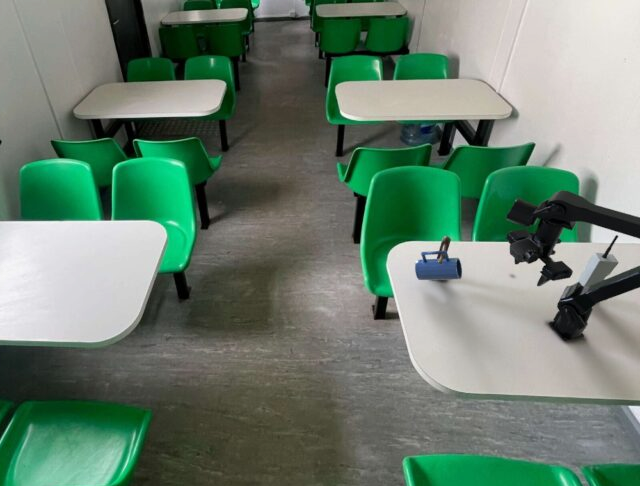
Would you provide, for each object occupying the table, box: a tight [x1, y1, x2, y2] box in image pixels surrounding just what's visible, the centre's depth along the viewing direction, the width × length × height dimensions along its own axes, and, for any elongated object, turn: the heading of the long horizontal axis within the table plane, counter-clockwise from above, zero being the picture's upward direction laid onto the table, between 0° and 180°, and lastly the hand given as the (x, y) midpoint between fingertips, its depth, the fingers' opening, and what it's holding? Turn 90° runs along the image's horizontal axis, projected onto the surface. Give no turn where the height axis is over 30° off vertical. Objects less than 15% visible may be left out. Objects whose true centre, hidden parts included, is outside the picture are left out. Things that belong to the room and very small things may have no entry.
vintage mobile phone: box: [575, 235, 619, 286], centre depth 126 cm, size 4×5×25 cm
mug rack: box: [436, 235, 452, 283], centre depth 135 cm, size 6×14×17 cm, turn 151°
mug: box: [414, 250, 463, 281], centre depth 132 cm, size 10×6×12 cm
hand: (527, 274), depth 124 cm, fingers open, 9 cm apart
